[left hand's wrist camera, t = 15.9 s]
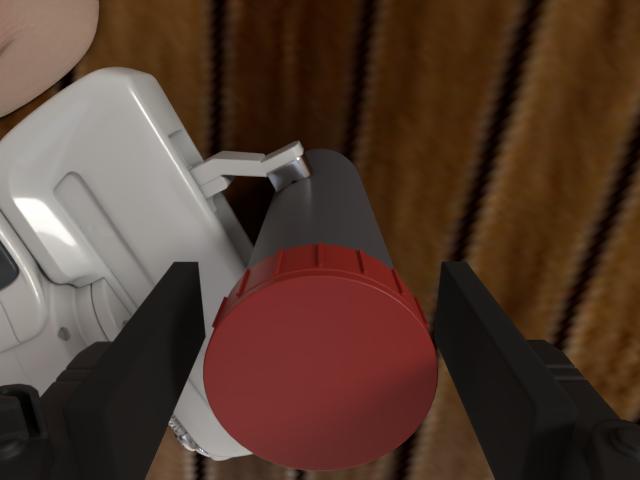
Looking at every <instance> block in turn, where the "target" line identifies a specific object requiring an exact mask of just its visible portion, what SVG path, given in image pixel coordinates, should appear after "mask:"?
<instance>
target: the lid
mask: <svg viewBox="0 0 640 480" xmlns="http://www.w3.org/2000/svg"><path fill="white" fill-rule="evenodd" d="M212 327H213V328H214V330H213V333H212V335H211V338H210V340H209V343H208V346H207V349H206V352H205V357H204V363H203V382H204V389H205V393H206V396H207V400H208V403H209V405H210V407H211V410H212V412H213V414H214V416H215V417H216V419H217V420H218V422H219V423H220V425H221V426H222V427H223V428H224V429H225V431H226V432H227V433H228V434H229V435H230V436H231V437H232V438H233V439H234V440H235V441H237V442H238V443H239V444H240V445H241V446H243V447H244V448H246V449H247V450H249V451H250V452H252V453H254V454H255V455H257V456H259V457H261V458H263V459H265V460H268V461H270V462H273V463H275V464H279V465H282V466H286V467H289V468H295V469H301V470H311V471H331V470H339V469H346V468H351V467H355V466H359V465H362V464H365V463H368V462H371V461H373V460H375V459H377V458H380V457H382V456H384V455H386V454H387V453H389V452H390V451H392V450H394V449H395V448H397V447H398V446H399V445H401V444H402V443H403V442H404V441H406V440H407V439H408V438H409V437H410V436H411V435H412V434H413V433H414V432H415V431H416V429H417V428H418V427H419V426H420V424H421V423H422V422H423V420H424V418H425V417H426V415H427V413H428V411H429V410H430V407H431V405H432V402H433V400H434V397H435V392H436V388H437V381H438V365H437V357H436V353H435V349H434V346H433V343H432V341H431V338H430V336H429V334H428V331H427V329H426V328H429V324H428V322H427V320H426V317H425V315H424V313H423V310H422V308H421V306H420V303H419V301H418V299H417V297H415V298H413V295H412V294H411V292H410V291H409V289H408V287H407V286H406V284H405V283H404V282H403V281H402V280H401V278H400V277H399V276H398V273H397V270H395V269H394V268H393V269H392V270H391V269H390V268H389V267H388V266H386V265H385V264H383V263H382V262H380V261H379V260H378V259H376V258H374V257H372V256H370V255H368V254H366V253H364V251H363V250H362V249H359V251H357V250H354V249H351V248H347V247H342V246H337V245H326V244H323V242H319V244H318V245H305V246H298V247H294V248H290V249H287V250H282V249H279V250H278V252H277V253H276V254H273V255H271V256H269V257H267V258H265V259H264V260H262V261H260V262H259V263H257V264H256V265H255V266H253V267H252V268H251V269H248V268H246V269H245V270H244V273H243V276H242V277H241V278H240V279H239V280H238V282H237V283H236V284H235V286H234V287H233V289H232V290H231V292H230V293H229V295H228V297H225V296H224V298H223V300H222V303H221V305H220V308H219V310H218V312H217V315H216V317H215V319H214V322H213V324H212Z"/></svg>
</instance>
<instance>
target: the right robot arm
mask: <svg viewBox="0 0 640 480" xmlns="http://www.w3.org/2000/svg"><path fill="white" fill-rule="evenodd" d="M312 170H313V168H312V166H311V164H310V162H309V160H308V158H307V155H306V153H305V151H304V149H303V147H302V145H301V143H300V141H295V142H293V143H291V144H289V145H287V146H285V147H283V148H281V149H279V150H277V151H275V152H273V153H271V154H269V155H267V156H265V155H264V154H260V153H246V152H233V151H221V152H219V153H218V154H216V155H214V156H212V157H210V158H208V159H206V160H203V159H202V157H201V155H200V153H199V152H198V150H197V148H196V147H195V145H194V143H193V141H192V140H191V138H190V136H189V135H188V133H187V131H186V129H185V128H184V126H183V124H182V123H181V121H180V119H179V117H178V116H177V114H176V112H175V111H174V109H173V107H172V106H171V104H170V102H169V100H168V99H167V97H166V95H165V94H164V92H163V90H162V88H161V87H160V85H159V83H158V82H157V80H156V79H155V78H154V77H153V76H152V75H150V74H148V73H145V72H141V71H138V70H134V69H130V68H125V67H109V68H103V69H99V70H96V71H94V72H92V73H89V74H88V75H86V76H84V77H82V78H81V79H79V80H77V81H76V82H74V83H72V84H71V85H69V86H68V87H66V88H65V89H63V90H62V91H60V92H59V93H57V94H56V95H55V96H53V97H52V98H50V99H49V100H47V101H46V102H45V103H43V104H42V105H41V106H40V107H38V108H37V109H36V110H34V111H33V112H32V113H31V114H29V115H28V116H27V117H26V118H24V119H23V120H22V121H21V122H20V123H19V124H17V125H16V126H15V127H14V128H13V129H12V130H10V131H9V132H8V133H7V134H6V135H5V136H4V137H3V138H2V140H1V141H0V386H3V385H10V384H26V385H31V386H33V387H34V388H35V389H37V390H38V393H39V396H40V397H41V396H42V395H43V393H44V392H45V391H46V390H47V389H48V388H49V386H50V385H51V384H52V383H53V382H56V378H57V377H58V376H59V375H60V374H61V372H62V371H63V370H66V367H67V365H68V364H69V363H70V362H71V361H72V360H73V358H74V357H75V356H76V355H77V354H78V353H79V352H81V351H82V350H84V349H85V348H87V347H88V346H90V345H91V344H93V343H94V342H96V341H114V339H115V338H116V337H117V335H118V334H119V333H120V332H121V330H122V329H123V328H124V326H125V325H126V324H127V322H128V321H129V320H130V318H131V317H132V316H133V315H134V313H135V312H136V311H137V309H138V308H139V307H140V305H141V304H142V303H143V301H144V300H145V299H146V298H147V296H148V295H149V294H150V292H151V291H152V290H153V288H154V287H155V286H156V285H157V283H158V282H159V281H160V279H161V278H162V277H163V275H164V274H165V273H166V271H167V270H168V269H169V268H170V266H171V265H172V264H173V262H198V265H199V274H200V284H201V294H202V303H203V313H204V323H205V333H206V338H205V340H204V342H203V345H202V347H201V349H200V352H199V354H198V356H197V359H196V361H195V363H194V366H193V368H192V370H191V373H190V375H189V377H188V380H187V382H186V384H185V387H184V389H183V391H182V394H181V396H180V398H179V401H178V403H177V405H176V408H175V410H174V412H173V415H172V417H171V419H170V422H169V424H168V426H170V428H171V429H172V430H173V432H174V433H175V436H176V438H177V440H178V441H179V443H180V444H181V445H182V446H183V447H184V448H185V449H186V450H188V451H190V452H192V451H195V450H196V451H197V452H198V453H200V454H202V455H204V456H207V457H211V458H212V459H213V460H216V461H220V460H226V459H229V458H231V457H238V456H245V455H250V454H254V453H252V452H250V451H249V450H247V449H246V448H244V447H243V446H241V445H240V444H239V443H238V442H237V441H235V440H234V439H233V438H232V437H231V436H230V435H229V434H228V433H227V432H226V431H225V429H224V428H223V427H222V426H221V425H220V423H219V422H218V420H217V419H216V417H215V416H214V414H213V412H212V410H211V407H210V405H209V403H208V400H207V396H206V393H205V389H204V382H203V363H204V357H205V352H206V349H207V346H208V343H209V340H210V338H211V335H212V333H213V330H214V328H213V327H212V324H213V322H214V319H215V317H216V315H217V312H218V310H219V308H220V305H221V303H222V300H223V298H224V296H225V297H228V295H229V293H230V292H231V290H232V289H233V287H234V286H235V284H236V283H237V282H238V280H239V279H240V278H241V277H242V276H243V273H244V270H245V269H246V268H247V265H248V262H249V260H250V257H251V254H252V252H253V249H254V246H253V244H252V242H251V241H250V239H249V237H248V236H247V234H246V232H245V230H244V229H243V227H242V225H241V224H240V222H239V220H238V218H237V217H236V215H235V213H234V212H233V210H232V208H231V207H230V205H229V203H228V201H227V200H226V198H225V196H224V195H223V193H222V190H224V189H226V188H227V187H228V186H229V185H230V183H231V182H232V181H233V180H234V178H235V176H236V175H237V176H260V177H267V176H268V177H269V179H270V181H271V183H272V184H273V186H274V188H275V190H276V191H277V192H279V191H281V190H283V189H285V188H287V187H288V186H290V185H291V183H292V181H300V180H303V179H305V178H307V177H309V176H310V175H311V174H312V173H313V171H312Z"/></svg>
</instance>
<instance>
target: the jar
mask: <svg viewBox="0 0 640 480" xmlns="http://www.w3.org/2000/svg"><path fill="white" fill-rule="evenodd" d="M305 153H306V155H307V158H308V160H309V162H310V164H311V166H312V168H313V170H312V171H313V173H312V174H311V175H310V176H309V177H307V178H305V179H303V180H300V181H292V183H291V185H290V186H288V187H287V188H285V189H283V190H281V191H279V192H277V191H276V190H275V193H274V195H273V198H272V201H271V203H270V206H269V209H268V212H267V214H266V217H265V220H264V222H263V225H262V228H261V230H260V233H259V236H258V238H257V241H256V244H255V246H254V249H253V252H252V254H251V257H250V260H249V262H248V265H247V268H248V269H251V268H252V267H253V266H255V265H256V264H257V263H259V262H260V261H262V260H264V259H265V258H267V257H269V256H271V255H273V254H276V253H277V252H278V250H279V249H282V250H287V249H290V248H294V247H298V246H305V245H318V244H319V242H323V244H326V245H337V246H342V247H347V248H351V249H354V250H357V251H359V249H362V250H363V251H364V253H366V254H368V255H370V256H372V257H374V258H376V259H378V260H379V261H380V262H382V263H383V264H385V265H386V266H388V267H389V268H390V269H391V270H392V269H393V268H394V266H393V264H392V261H391V258H390V256H389V253H388V250H387V248H386V245H385V242H384V240H383V237H382V234H381V232H380V229H379V226H378V224H377V221H376V218H375V216H374V213H373V210H372V208H371V205H370V202H369V200H368V197H367V194H366V192H365V189H364V187H363V184H362V181H361V179H360V176H359V174H358V171H357V169H356V168H355V166H354V165H353V164H352V163H351V161H349V160H348V159H347V158H346V157H345V156H343V155H342V154H340V153H338V152H335V151H332V150H328V149H312V150H308V151H305Z"/></svg>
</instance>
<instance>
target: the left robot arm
mask: <svg viewBox="0 0 640 480" xmlns="http://www.w3.org/2000/svg"><path fill="white" fill-rule="evenodd" d="M205 338H206V333H205V323H204V313H203V303H202V294H201V284H200V274H199V265H198V262H173V264H172V265H171V266H170V268H169V269H168V270H167V271H166V273H165V274H164V275H163V277H162V278H161V279H160V281H159V282H158V283H157V285H156V286H155V287H154V288H153V290H152V291H151V292H150V294H149V295H148V296H147V298H146V299H145V300H144V301H143V303H142V304H141V305H140V307H139V308H138V309H137V311H136V312H135V313H134V315H133V316H132V317H131V318H130V320H129V321H128V322H127V324H126V325H125V326H124V328H123V329H122V330H121V332H120V333H119V334H118V335H117V337H116V338H115V339H114V341H96V342H94V343H93V344H91V345H90V346H88V347H87V348H85V349H84V350H82V351H81V352H79V353H78V354H77V355H76V356H75V357H74V358H73V360H72V361H71V362H70V363H69V364H68V365H67V367H66V370H63V371H62V372H61V374H60V375H59V376H58V377H57V378H56V382H53V383H52V384H51V385H50V386H49V388H48V389H47V390H46V391H45V392H44V393H43V395H42V396H41V397H40V396H39V393H38V390H37V389H35V388H34V387H33V386H31V385H26V384H10V385H3V386H0V480H145V478H146V475H147V473H148V471H149V468H150V466H151V464H152V461H153V459H154V457H155V454H156V452H157V450H158V447H159V445H160V443H161V440H162V438H163V436H164V433H165V431H166V429H167V426H168V424H169V422H170V419H171V417H172V415H173V412H174V410H175V408H176V405H177V403H178V401H179V398H180V396H181V394H182V391H183V389H184V387H185V384H186V382H187V380H188V377H189V375H190V373H191V370H192V368H193V366H194V363H195V361H196V359H197V356H198V354H199V352H200V349H201V347H202V345H203V342H204V340H205ZM434 338H435V340H436V342H437V345H438V347H439V349H440V352H441V354H442V356H443V359H444V361H445V363H446V366H447V368H448V370H449V373H450V375H451V377H452V380H453V382H454V384H455V387H456V389H457V391H458V394H459V396H460V398H461V401H462V403H463V405H464V408H465V410H466V412H467V415H468V417H469V419H470V422H471V424H472V426H473V429H474V431H475V433H476V436H477V438H478V440H479V443H480V445H481V447H482V450H483V452H484V454H485V457H486V459H487V461H488V464H489V466H490V468H491V471H492V473H493V475H494V478H495V480H640V425H638V424H635V423H632V422H629V421H626V420H621V419H620V418H619V417H618V416H617V414H616V413H615V412H614V411H613V410H612V409H611V407H610V406H609V405H608V404H607V403H606V402H605V401H604V399H603V398H602V397H601V396H600V395H599V394H598V392H597V391H596V390H595V389H594V388H593V387H592V385H591V384H590V383H589V382H588V381H587V380H585V379H584V376H583V375H582V374H581V373H580V372H579V370H578V369H575V367H574V365H573V363H572V362H571V361H570V360H569V359H568V358H567V357H566V355H565V354H564V353H563V352H562V351H560V350H559V349H557V348H556V347H554V346H553V345H551V344H550V343H548V342H546V341H545V340H526V339H525V338H524V337H523V335H522V334H521V333H520V332H519V330H518V329H517V328H516V326H515V325H514V324H513V322H512V321H511V320H510V318H509V317H508V316H507V315H506V313H505V312H504V311H503V309H502V308H501V307H500V305H499V304H498V303H497V301H496V300H495V299H494V298H493V296H492V295H491V294H490V292H489V291H488V290H487V288H486V287H485V286H484V285H483V283H482V282H481V281H480V279H479V278H478V277H477V275H476V274H475V273H474V271H473V270H472V269H471V268H470V266H469V265H468V264H467V262H442V265H441V274H440V284H439V294H438V303H437V313H436V323H435V333H434Z"/></svg>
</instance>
